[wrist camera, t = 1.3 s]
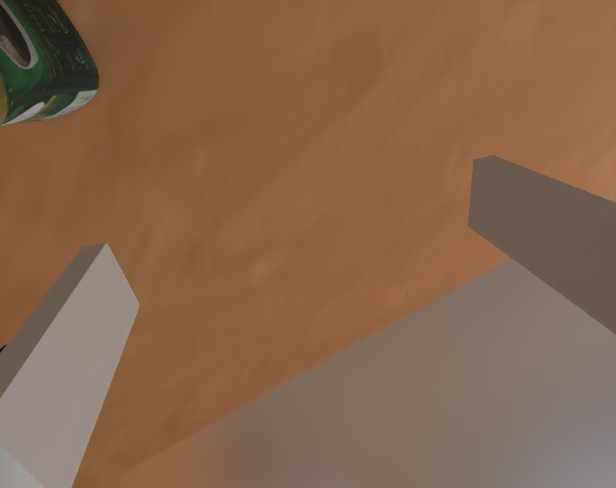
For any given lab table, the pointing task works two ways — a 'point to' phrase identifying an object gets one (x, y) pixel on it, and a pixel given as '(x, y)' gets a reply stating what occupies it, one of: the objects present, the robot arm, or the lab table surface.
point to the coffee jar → (41, 63)
